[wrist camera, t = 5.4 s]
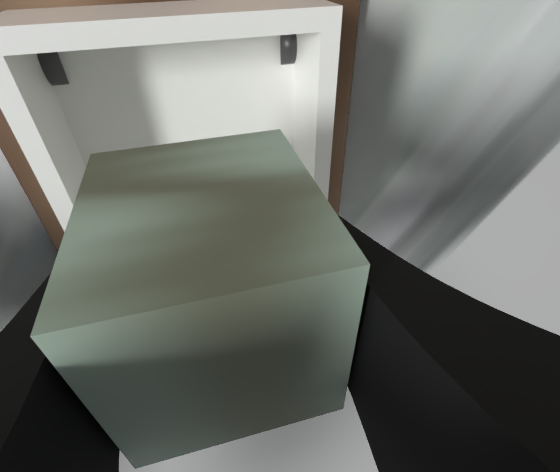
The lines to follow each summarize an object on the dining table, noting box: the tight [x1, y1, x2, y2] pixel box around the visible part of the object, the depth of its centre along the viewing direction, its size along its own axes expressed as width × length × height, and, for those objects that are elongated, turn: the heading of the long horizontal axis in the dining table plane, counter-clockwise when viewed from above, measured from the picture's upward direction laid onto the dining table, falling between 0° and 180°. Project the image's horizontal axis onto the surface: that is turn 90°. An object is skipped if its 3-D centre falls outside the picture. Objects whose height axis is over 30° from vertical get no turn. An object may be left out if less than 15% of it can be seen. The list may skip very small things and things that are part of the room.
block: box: [30, 129, 370, 469], centre depth 8 cm, size 4×4×5 cm
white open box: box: [0, 0, 343, 232], centre depth 11 cm, size 9×10×8 cm
